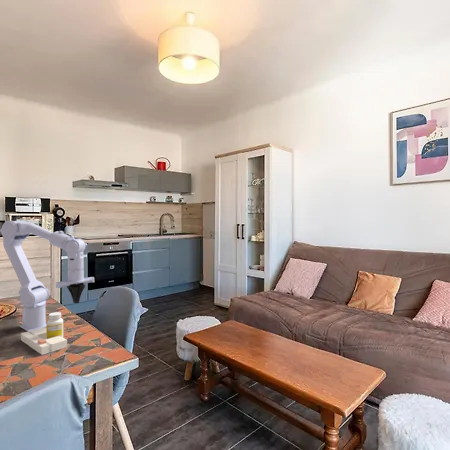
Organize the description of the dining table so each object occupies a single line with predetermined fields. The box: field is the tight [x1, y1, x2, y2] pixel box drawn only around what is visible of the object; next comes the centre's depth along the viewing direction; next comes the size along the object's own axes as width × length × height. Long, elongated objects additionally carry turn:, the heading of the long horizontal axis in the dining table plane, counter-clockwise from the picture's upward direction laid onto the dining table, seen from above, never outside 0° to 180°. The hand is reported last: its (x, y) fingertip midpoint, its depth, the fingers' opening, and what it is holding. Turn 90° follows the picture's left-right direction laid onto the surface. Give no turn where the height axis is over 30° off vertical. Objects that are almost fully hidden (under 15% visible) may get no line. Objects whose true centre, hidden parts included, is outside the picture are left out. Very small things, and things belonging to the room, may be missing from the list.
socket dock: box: [20, 327, 68, 356], centre depth 110 cm, size 19×8×3 cm, turn 51°
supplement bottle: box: [46, 311, 64, 339], centre depth 113 cm, size 5×5×10 cm
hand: (76, 302), depth 125 cm, fingers closed
